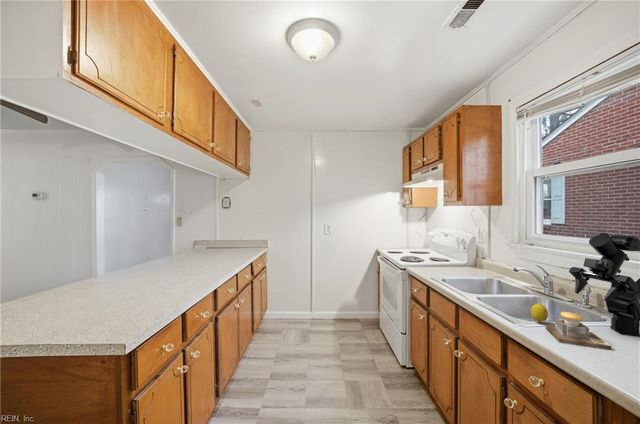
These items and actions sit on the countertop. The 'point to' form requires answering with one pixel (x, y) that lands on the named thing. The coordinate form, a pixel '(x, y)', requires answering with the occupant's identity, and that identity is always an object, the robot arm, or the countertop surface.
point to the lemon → (539, 312)
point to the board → (576, 335)
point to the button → (571, 318)
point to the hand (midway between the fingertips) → (590, 296)
